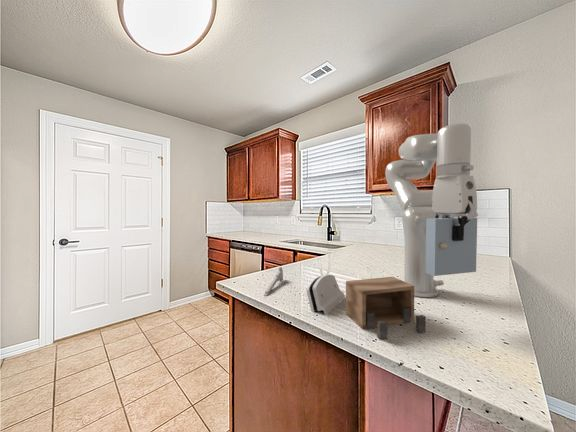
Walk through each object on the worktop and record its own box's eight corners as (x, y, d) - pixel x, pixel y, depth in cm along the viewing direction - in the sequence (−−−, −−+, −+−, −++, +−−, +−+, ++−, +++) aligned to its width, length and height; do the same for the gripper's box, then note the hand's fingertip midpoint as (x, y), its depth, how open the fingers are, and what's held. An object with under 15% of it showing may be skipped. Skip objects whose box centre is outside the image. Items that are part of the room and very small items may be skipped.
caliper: (280, 279, 106) (280, 266, 106) (283, 280, 106) (282, 266, 105) (263, 296, 86) (263, 279, 86) (266, 297, 86) (266, 279, 86)
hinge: (325, 315, 70) (315, 281, 72) (312, 316, 73) (302, 284, 74) (345, 297, 84) (336, 269, 86) (333, 299, 87) (325, 272, 88)
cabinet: (345, 314, 71) (345, 281, 71) (392, 308, 75) (392, 276, 74) (374, 340, 57) (374, 299, 57) (430, 331, 61) (430, 292, 60)
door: (425, 272, 66) (426, 218, 65) (465, 269, 69) (466, 217, 68) (438, 277, 62) (439, 219, 61) (480, 272, 65) (481, 218, 64)
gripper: (496, 168, 58) (493, 243, 59) (438, 176, 74) (437, 235, 74) (471, 167, 56) (469, 245, 57) (418, 175, 72) (417, 236, 73)
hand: (451, 239), depth 66 cm, fingers closed on door, 3 cm apart
